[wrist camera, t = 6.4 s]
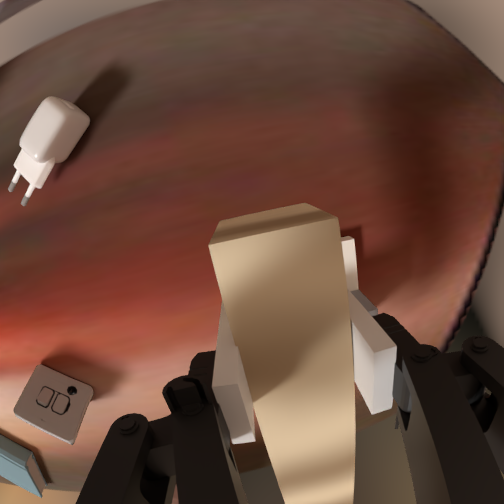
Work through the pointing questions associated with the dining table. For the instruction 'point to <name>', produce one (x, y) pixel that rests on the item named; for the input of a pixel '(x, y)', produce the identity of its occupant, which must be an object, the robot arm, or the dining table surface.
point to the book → (20, 466)
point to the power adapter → (48, 141)
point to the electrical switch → (54, 403)
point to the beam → (294, 343)
